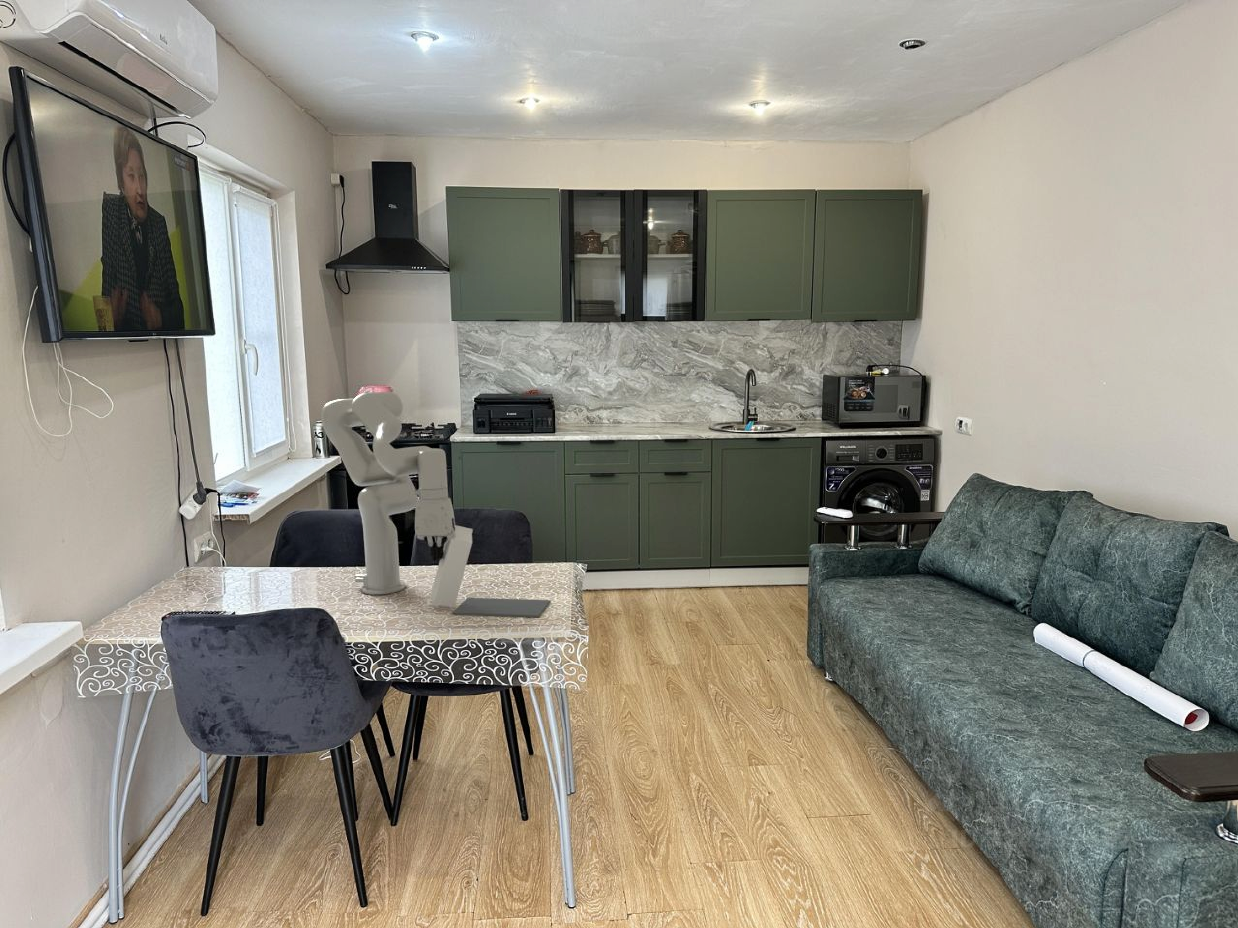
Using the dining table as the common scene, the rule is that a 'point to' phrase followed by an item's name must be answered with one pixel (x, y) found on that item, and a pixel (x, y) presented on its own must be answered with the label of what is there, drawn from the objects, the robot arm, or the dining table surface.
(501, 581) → the dining table surface
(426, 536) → the robot arm
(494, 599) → the mat
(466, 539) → the milk
